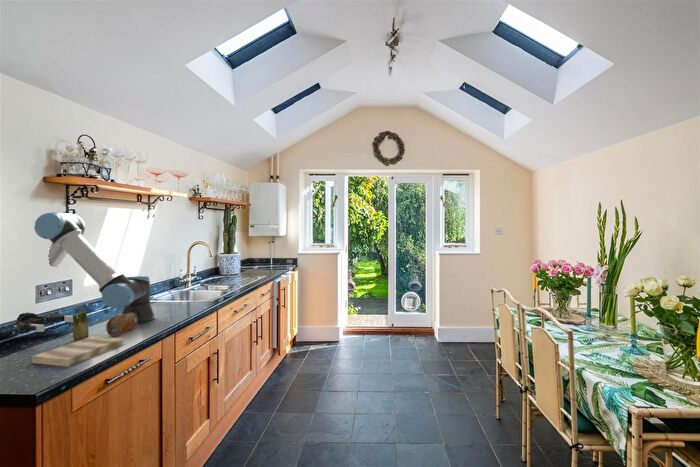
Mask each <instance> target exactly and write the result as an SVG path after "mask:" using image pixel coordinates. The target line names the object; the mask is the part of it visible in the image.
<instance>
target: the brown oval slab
mask: <svg viewBox="0 0 700 467" xmlns="http://www.w3.org/2000/svg"><path fill="white" fill-rule="evenodd" d="M121 314H122V313H121ZM121 314H120V315H117V316H114V317H111V318H109V319H108V321H107V322H106V332H107V334H108V335H109V336H112V337H113V336H114V337H119V336H121V335H123V334H127V333H129V332H132V331H134V330H135V329H136V328H137V326H138V325H139V324H138V316H137V314H135V313H133V312H131V313H125V314H122V315H121Z"/></svg>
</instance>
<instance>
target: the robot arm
mask: <svg viewBox="0 0 700 467" xmlns="http://www.w3.org/2000/svg"><path fill="white" fill-rule="evenodd" d="M33 228H34V231H35V233H36V235H37V236H38V237H40V238H42V239H44V240H49V241H50V242H51V243H50V245H51V247H50V246H49V247H50V250H49V255H48V257H49V259H48V260H49V264H50V266H52V267H57V266H58V265H60V264H61V263H62V261H63V260H64V258H65V257H66V256H67V254H69V256H70V257H71V258H72V259H73V260H74V261H75V262H76V263H77V264H78V265H79V266H80V267H81V268H82V269H83V270H84V271H85V272H86V274H88V276H89V277H91V278H92V279H93V281H94V282H95V283H96V284H97V285H98V286H99V287H98V291H99V292H100V293H101V300H102V303H104V305H106V306H107V307H109V308H112V309H122V311H121V314H120V315H122V314H125V313H131V312H133V313H135V314H137V316H138V325H139V324H143V323H148V322H150V321H154V319H155V313H154V312H153V308H152V306H151V287H150V286H151V281H150V277H149V276H148V275H133V276H130V275H129V276H125V275H124V273H117V271H115V269H114V268H113V267H112V266H111V265H110V264H109V263H108V262H107V261H106V260H105V259H104V258H103V257H102V256H101V255H100V254H99V252H97V250H96V249H95V248H94V247H93V246H92V245H91V244H90V243H89V242H88V241H87V240H86V238H84V237H83V234H84V232H85V230H86V224H85V221H84V219H82V218H81V216H79V215H77V214H75V213H68V212H67V213H66V212H65V213H63V212H55V211H53V212H46V213H43V214H41V215H40V216H38V217H37V218H36V220H35V221H34V227H33ZM58 267H59V266H58ZM58 267H57V268H58ZM59 322H65V323H73V315H71V313H64V314H47V315H44V316H43V315H42V316H41V315H38V314H36V313H34V312H26V313H22V314H20V315H19V317H18V318H17V322H16V323H14V329H13V330H17V332H18V333H20V334H22V333H24V331H25V334H29V333H30V332H38V333H39V332H40V333H41V332H45V325H47V324H50V323H59Z"/></svg>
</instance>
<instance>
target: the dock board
mask: <svg viewBox="0 0 700 467" xmlns="http://www.w3.org/2000/svg"><path fill="white" fill-rule="evenodd" d="M123 345H124V338H122V337H121V338H120V337H109V336H108V337H107V336H106V337H105V336H95V335H94V336H93V335H91V336H89V337H88V338H85V339H82V340H79V341H73V342H70V343H67V344H64V345H61V346H59V347H55V348H52V349H49V350H47V351H43V352H41V353H40V352H39V353H37V354H35V355H32V356H31V360H32V362H31V363H32V364H37V365H40V364H41V365H49V366H56V367H57V366H58V367H70V366H73V365H76V364H78V363H81V362H83V361H86V360H88V359H90V358H93V357H96V356H98V355H101V354H103V353H106V352H108V351H110V350H113V349H115V348H118V347H121V346H123Z"/></svg>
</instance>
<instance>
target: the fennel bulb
mask: <svg viewBox="0 0 700 467" xmlns="http://www.w3.org/2000/svg"><path fill="white" fill-rule="evenodd" d="M87 315H88V312H87V311H80V312H78V313H77V314H73V315H72V316H73V322H72V323H73V326H72V327H73V328H72V336H73V342H76V341H79V340H82V339H85V338H88V337H90V336H89V326H88V321H87V320H88V319H87V318H88V317H87Z"/></svg>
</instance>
